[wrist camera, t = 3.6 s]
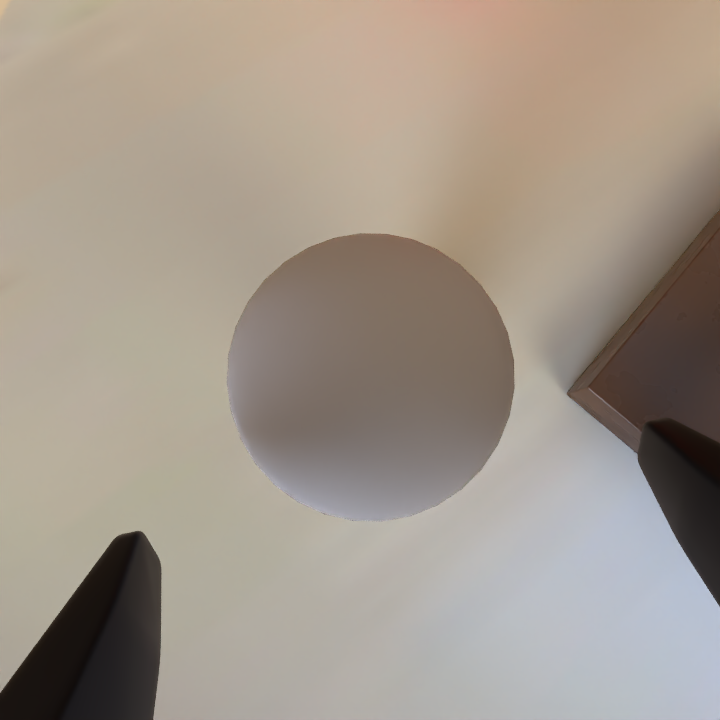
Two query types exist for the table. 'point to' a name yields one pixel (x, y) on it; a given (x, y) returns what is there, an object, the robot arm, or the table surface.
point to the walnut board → (664, 352)
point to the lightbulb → (370, 377)
